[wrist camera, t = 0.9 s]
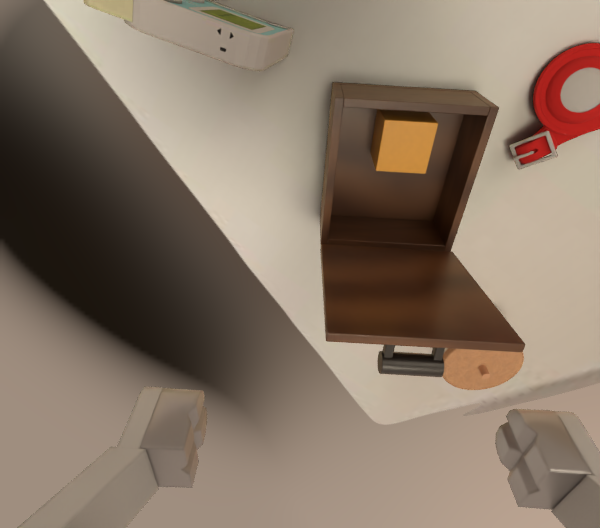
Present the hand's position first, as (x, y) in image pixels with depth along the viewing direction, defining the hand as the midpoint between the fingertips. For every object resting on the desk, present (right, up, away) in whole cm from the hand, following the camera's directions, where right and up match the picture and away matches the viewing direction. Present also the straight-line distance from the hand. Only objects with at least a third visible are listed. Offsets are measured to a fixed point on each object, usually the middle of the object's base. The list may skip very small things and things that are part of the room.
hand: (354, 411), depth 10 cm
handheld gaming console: (-10, +27, +26) cm, 39 cm away
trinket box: (+23, -5, +49) cm, 54 cm away
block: (+9, +18, +31) cm, 37 cm away
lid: (+8, +2, +25) cm, 27 cm away
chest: (+9, +16, +34) cm, 38 cm away
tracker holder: (+25, +20, +30) cm, 44 cm away
